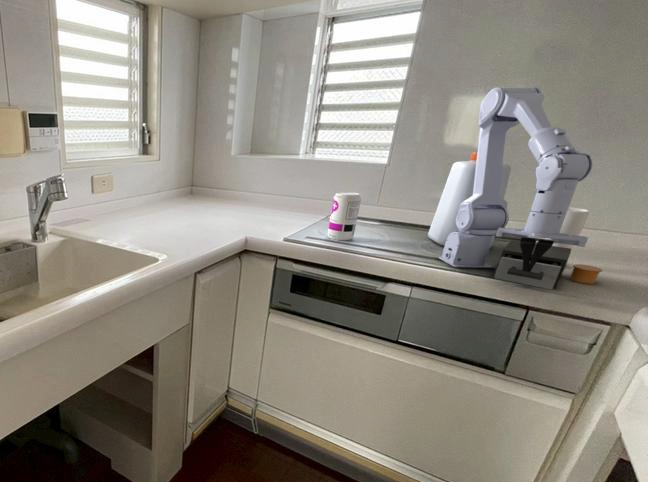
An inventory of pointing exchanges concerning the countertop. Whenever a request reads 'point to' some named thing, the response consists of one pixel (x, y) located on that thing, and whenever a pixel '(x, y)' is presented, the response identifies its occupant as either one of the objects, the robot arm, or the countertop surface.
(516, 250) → the black drawer unit
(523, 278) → the pod drawer
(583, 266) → the cylinder
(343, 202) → the supplement can
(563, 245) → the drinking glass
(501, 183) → the plastic bottle
